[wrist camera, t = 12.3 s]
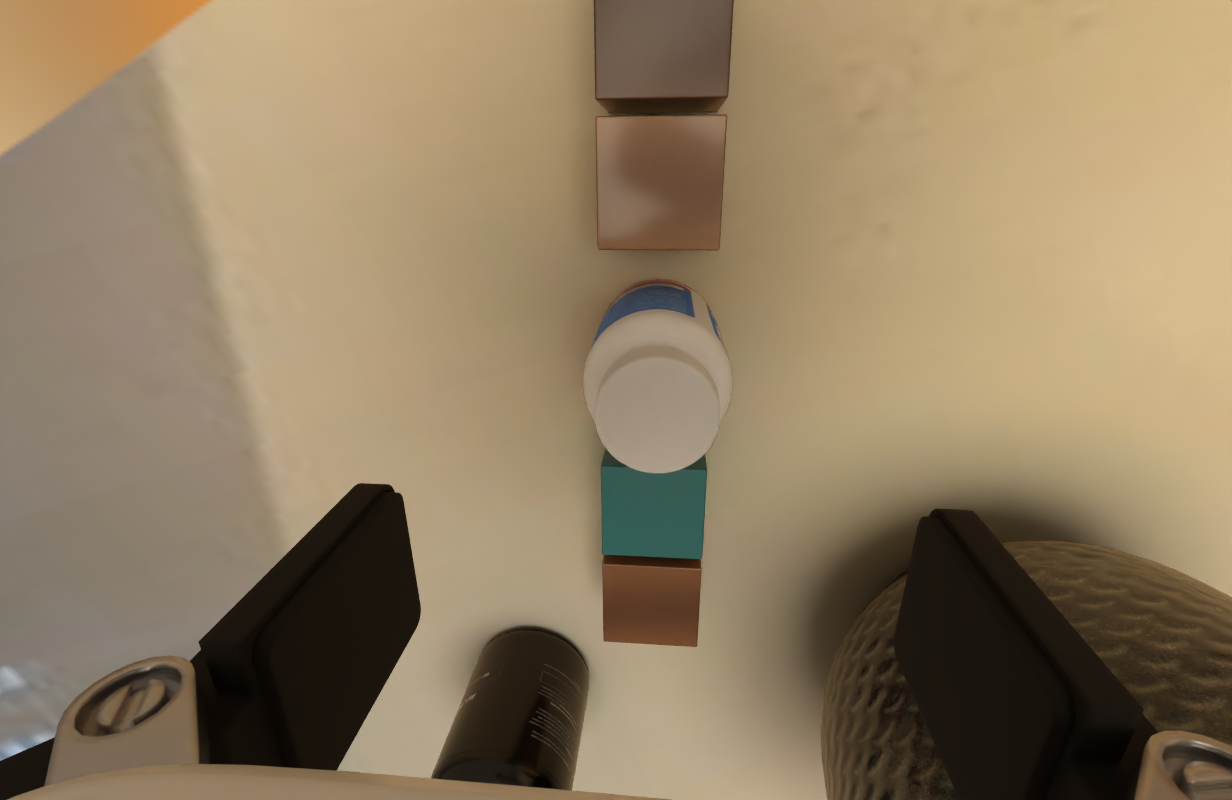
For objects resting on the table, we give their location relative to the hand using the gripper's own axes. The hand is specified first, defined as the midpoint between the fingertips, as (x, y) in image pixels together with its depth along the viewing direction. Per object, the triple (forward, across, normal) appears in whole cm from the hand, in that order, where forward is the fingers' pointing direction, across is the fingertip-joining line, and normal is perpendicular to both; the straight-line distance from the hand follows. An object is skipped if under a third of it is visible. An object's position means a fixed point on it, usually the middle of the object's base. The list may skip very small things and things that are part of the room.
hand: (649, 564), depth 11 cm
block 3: (+18, 0, +8) cm, 19 cm away
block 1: (+18, 0, -11) cm, 21 cm away
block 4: (+18, 0, +12) cm, 22 cm away
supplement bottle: (+18, +7, +22) cm, 29 cm away
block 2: (+18, 0, -6) cm, 19 cm away
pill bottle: (+18, 0, +1) cm, 18 cm away
